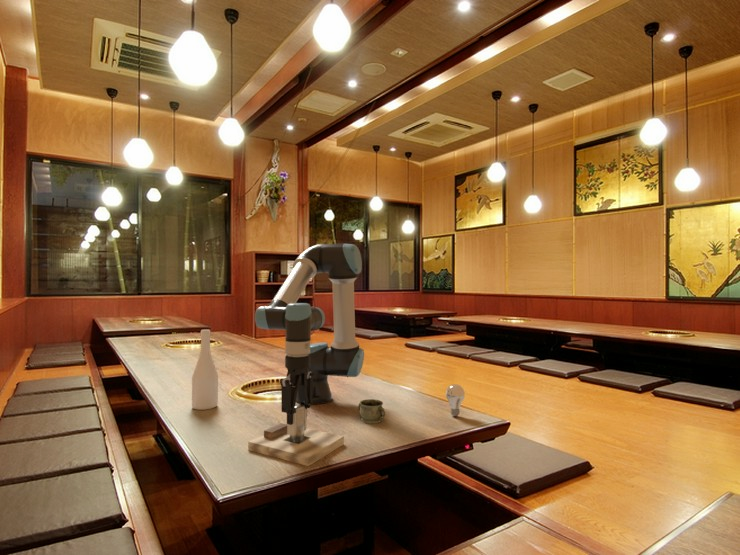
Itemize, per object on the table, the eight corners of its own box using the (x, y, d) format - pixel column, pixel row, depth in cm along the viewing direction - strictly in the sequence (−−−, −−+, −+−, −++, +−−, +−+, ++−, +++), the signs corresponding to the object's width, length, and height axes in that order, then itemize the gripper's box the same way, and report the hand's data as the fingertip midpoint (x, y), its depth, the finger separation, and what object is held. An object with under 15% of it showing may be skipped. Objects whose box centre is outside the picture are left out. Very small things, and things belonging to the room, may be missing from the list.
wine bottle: (187, 406, 173) (188, 329, 173) (210, 401, 180) (211, 327, 180) (198, 412, 167) (199, 332, 167) (222, 406, 174) (223, 330, 174)
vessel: (350, 419, 161) (350, 402, 161) (365, 413, 168) (365, 396, 168) (377, 426, 154) (378, 408, 154) (391, 420, 161) (392, 402, 161)
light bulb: (453, 420, 161) (453, 387, 161) (441, 415, 167) (442, 383, 167) (468, 417, 164) (468, 385, 164) (456, 412, 170) (456, 381, 170)
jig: (248, 450, 132) (248, 434, 132) (287, 431, 148) (287, 418, 148) (308, 466, 121) (308, 449, 121) (343, 444, 137) (343, 429, 137)
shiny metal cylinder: (286, 447, 133) (286, 407, 133) (295, 442, 137) (296, 403, 137) (298, 450, 131) (298, 409, 131) (307, 445, 135) (307, 405, 135)
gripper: (289, 360, 125) (288, 443, 125) (324, 351, 140) (323, 425, 140) (268, 357, 128) (267, 438, 128) (305, 349, 144) (304, 421, 144)
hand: (297, 431), depth 134 cm, fingers closed on shiny metal cylinder, 4 cm apart
